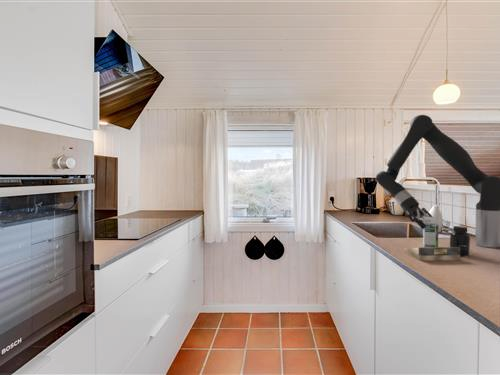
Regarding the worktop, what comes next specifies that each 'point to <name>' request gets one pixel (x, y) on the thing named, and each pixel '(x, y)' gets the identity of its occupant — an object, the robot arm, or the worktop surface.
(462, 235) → the supplement bottle
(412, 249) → the price shelf
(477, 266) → the worktop surface
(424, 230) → the syrup box
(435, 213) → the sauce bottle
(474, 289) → the worktop surface
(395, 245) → the worktop surface
